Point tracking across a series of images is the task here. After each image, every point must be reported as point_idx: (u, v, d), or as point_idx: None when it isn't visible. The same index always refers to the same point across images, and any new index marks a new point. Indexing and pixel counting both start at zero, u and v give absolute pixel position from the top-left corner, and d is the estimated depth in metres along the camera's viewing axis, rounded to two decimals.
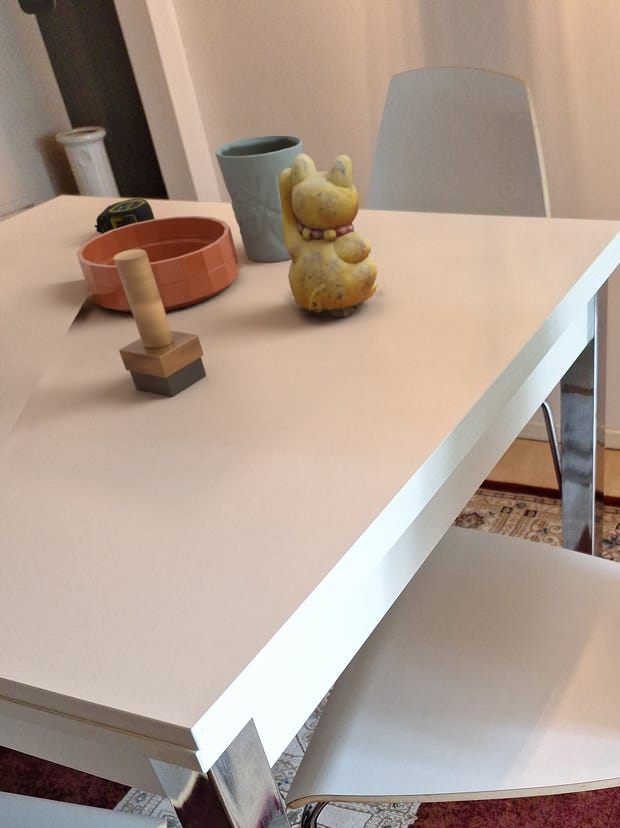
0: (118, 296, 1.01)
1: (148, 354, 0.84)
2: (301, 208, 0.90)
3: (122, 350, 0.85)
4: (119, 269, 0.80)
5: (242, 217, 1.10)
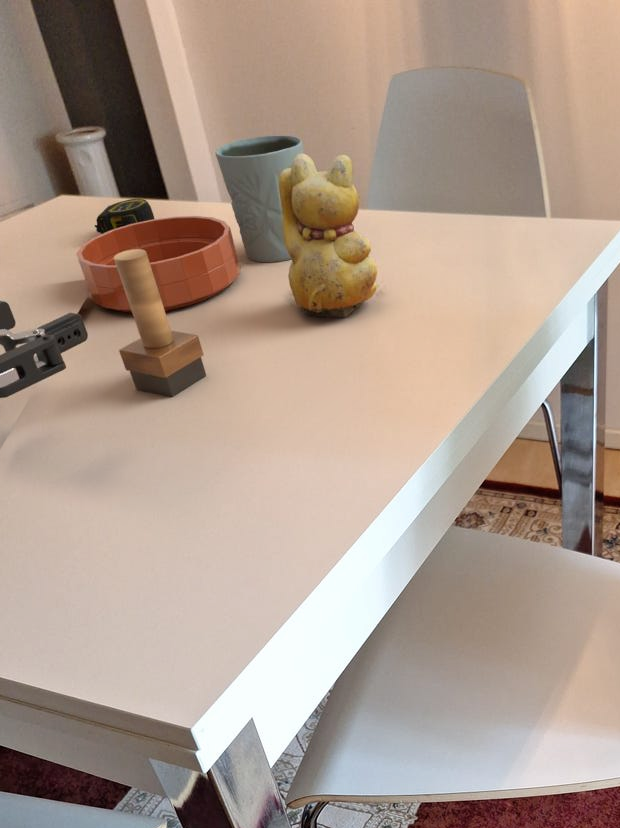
0: (118, 296, 1.01)
1: (148, 354, 0.84)
2: (301, 208, 0.90)
3: (122, 350, 0.85)
4: (119, 269, 0.80)
5: (242, 217, 1.10)
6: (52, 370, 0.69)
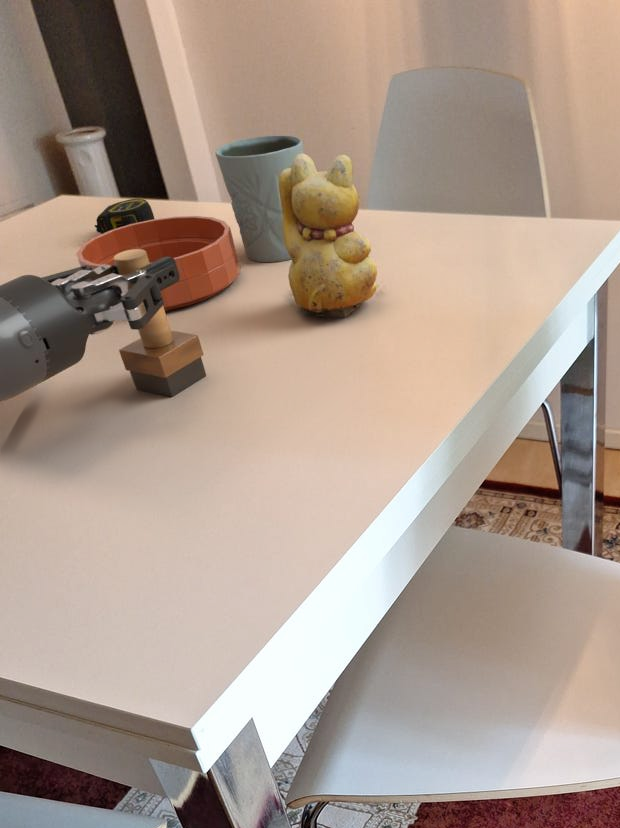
0: None
1: (148, 354, 0.84)
2: (301, 208, 0.90)
3: (122, 350, 0.85)
4: (119, 269, 0.80)
5: (242, 217, 1.10)
6: (159, 304, 0.79)
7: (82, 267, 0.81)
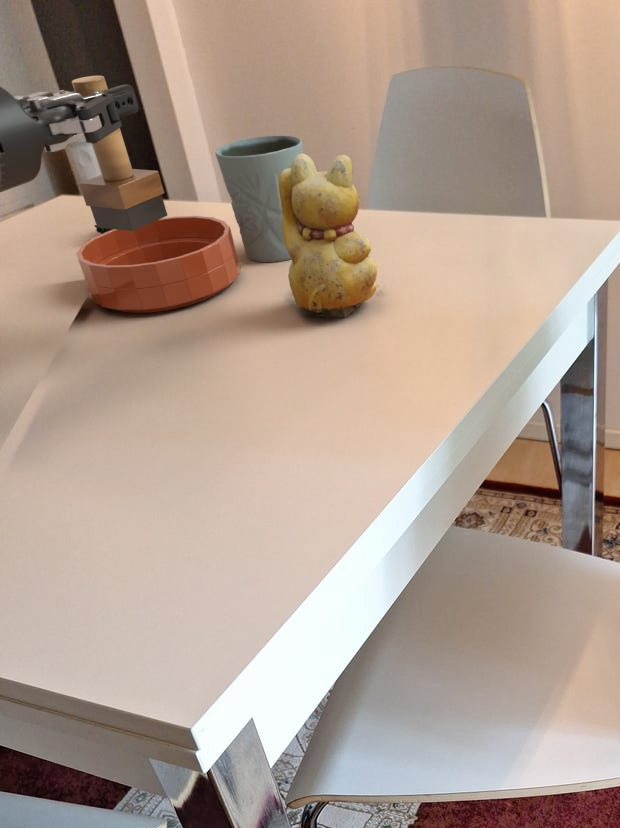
0: (118, 296, 1.01)
1: (107, 185, 0.84)
2: (301, 208, 0.90)
3: (82, 183, 0.86)
4: None
5: (242, 217, 1.10)
6: (116, 124, 0.79)
7: None
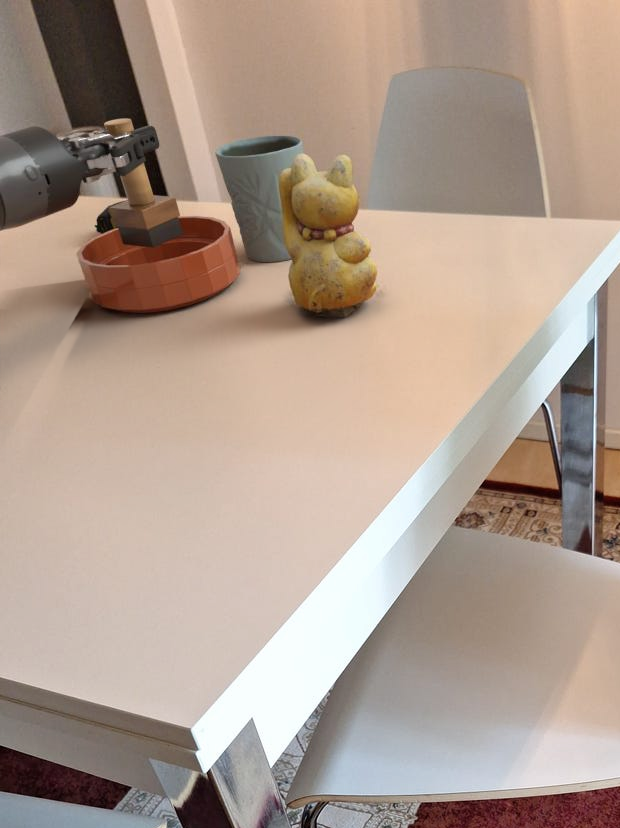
0: (118, 296, 1.01)
1: (133, 209, 1.00)
2: (301, 208, 0.90)
3: (111, 207, 1.02)
4: (108, 133, 0.97)
5: (242, 217, 1.10)
6: (141, 159, 0.95)
7: (78, 133, 0.98)
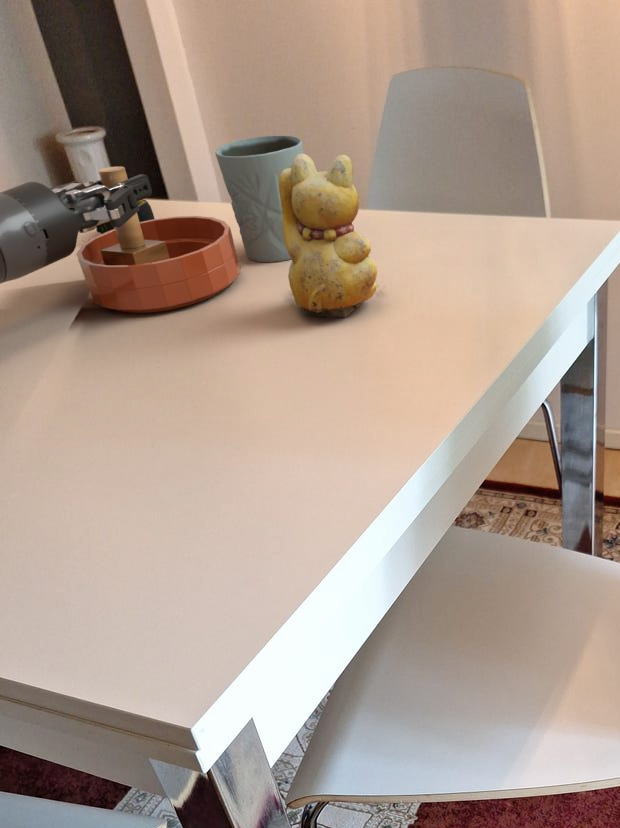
0: (118, 296, 1.01)
1: (124, 252, 1.04)
2: (301, 208, 0.90)
3: (103, 250, 1.05)
4: (102, 180, 1.01)
5: (242, 217, 1.10)
6: (135, 209, 0.99)
7: (74, 182, 1.02)
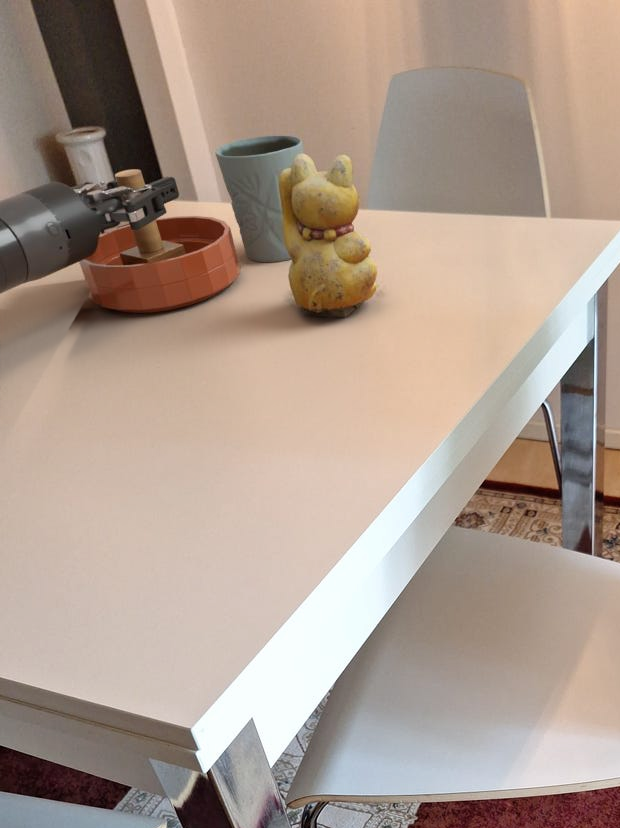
0: (118, 296, 1.01)
1: (139, 257, 1.03)
2: (301, 208, 0.90)
3: (121, 253, 1.05)
4: (118, 184, 1.00)
5: (242, 217, 1.10)
6: (160, 212, 0.98)
7: (85, 183, 1.01)
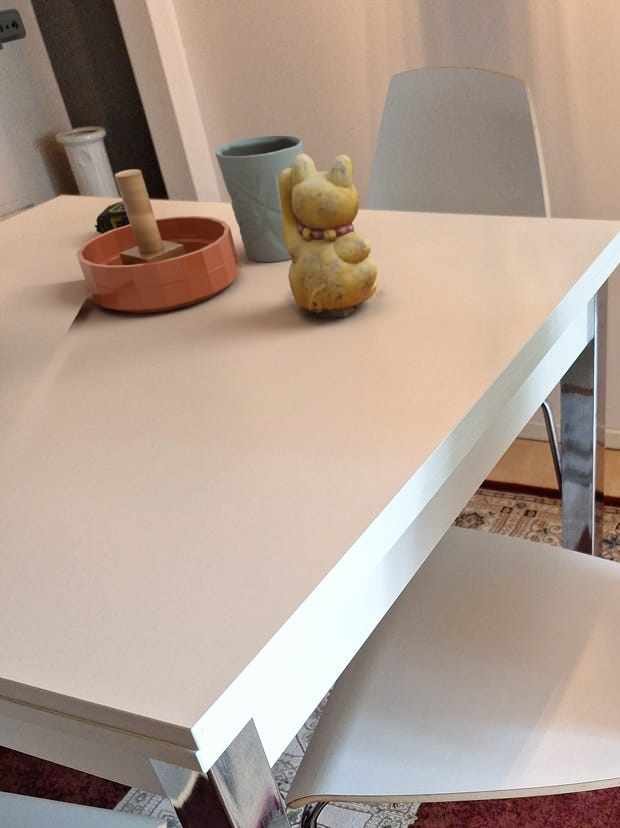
0: (118, 296, 1.01)
1: (139, 257, 1.03)
2: (301, 208, 0.90)
3: (121, 253, 1.05)
4: (118, 184, 1.00)
5: (242, 217, 1.10)
6: None
7: None
